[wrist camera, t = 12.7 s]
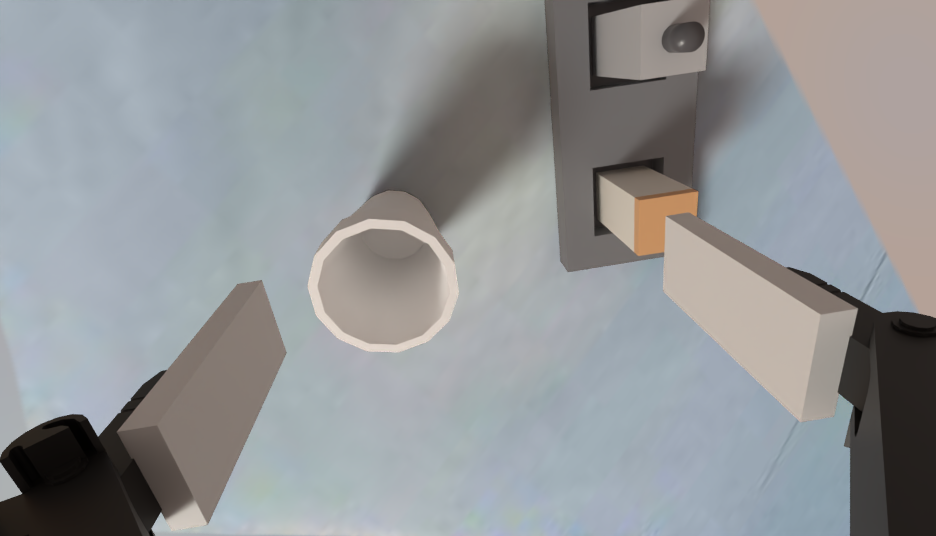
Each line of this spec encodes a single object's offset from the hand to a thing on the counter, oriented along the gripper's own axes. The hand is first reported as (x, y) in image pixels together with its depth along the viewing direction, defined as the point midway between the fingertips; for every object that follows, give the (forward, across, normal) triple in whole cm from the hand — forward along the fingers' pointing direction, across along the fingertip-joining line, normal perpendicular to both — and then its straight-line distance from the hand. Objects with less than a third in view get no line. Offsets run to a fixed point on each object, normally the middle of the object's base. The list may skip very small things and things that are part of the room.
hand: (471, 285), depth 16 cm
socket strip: (+27, +15, 0) cm, 31 cm away
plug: (+26, +15, -6) cm, 31 cm away
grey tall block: (+26, +15, +6) cm, 31 cm away
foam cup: (+27, -5, -6) cm, 28 cm away
